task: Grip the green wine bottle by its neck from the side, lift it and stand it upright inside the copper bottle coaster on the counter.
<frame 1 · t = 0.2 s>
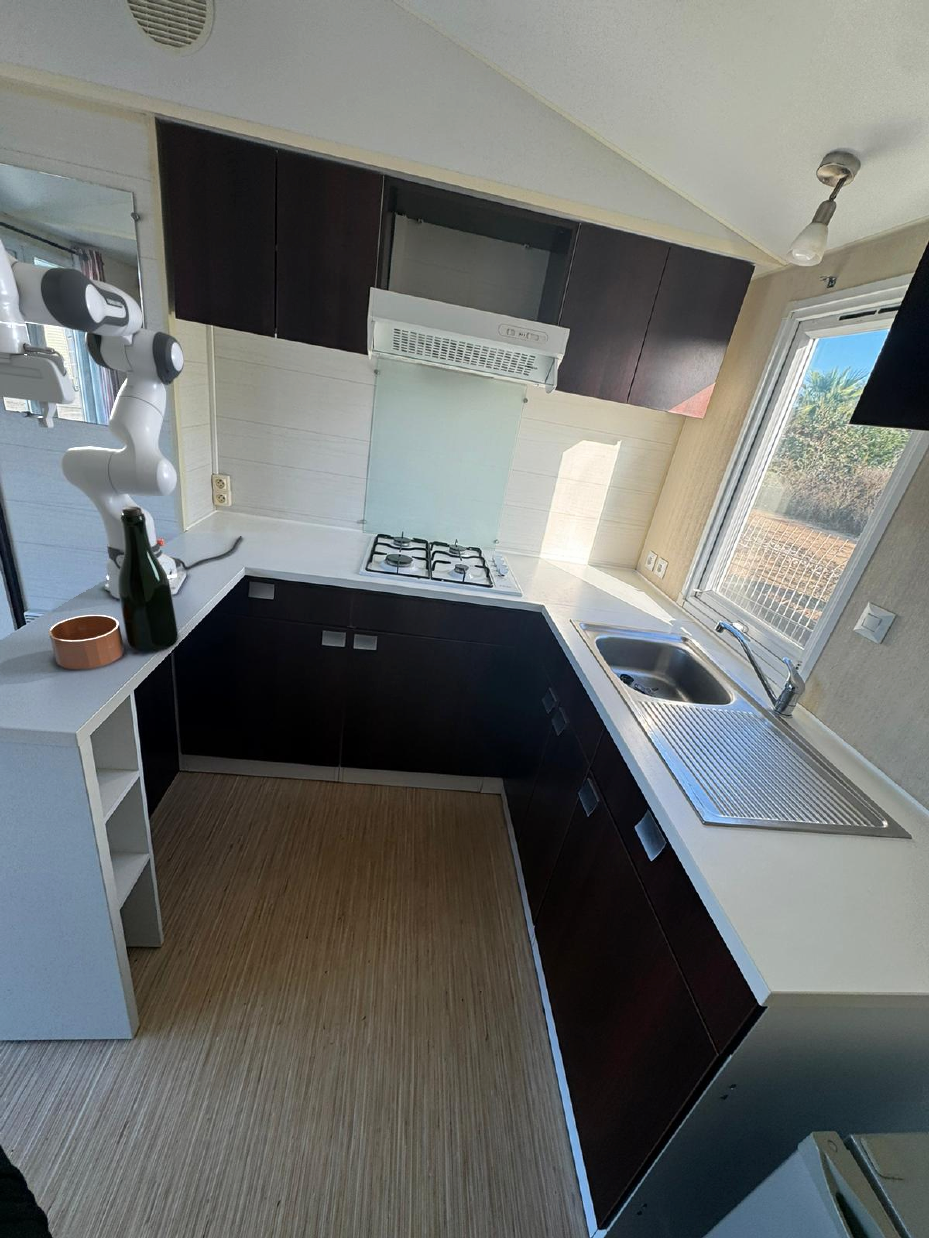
hand: (19, 424, 91), 48 cm above the table, tool pointing down, fingers open, 8 cm apart
copper bottle coaster: (91, 654, 109), on the table
green wine bottle: (154, 643, 117), on the table
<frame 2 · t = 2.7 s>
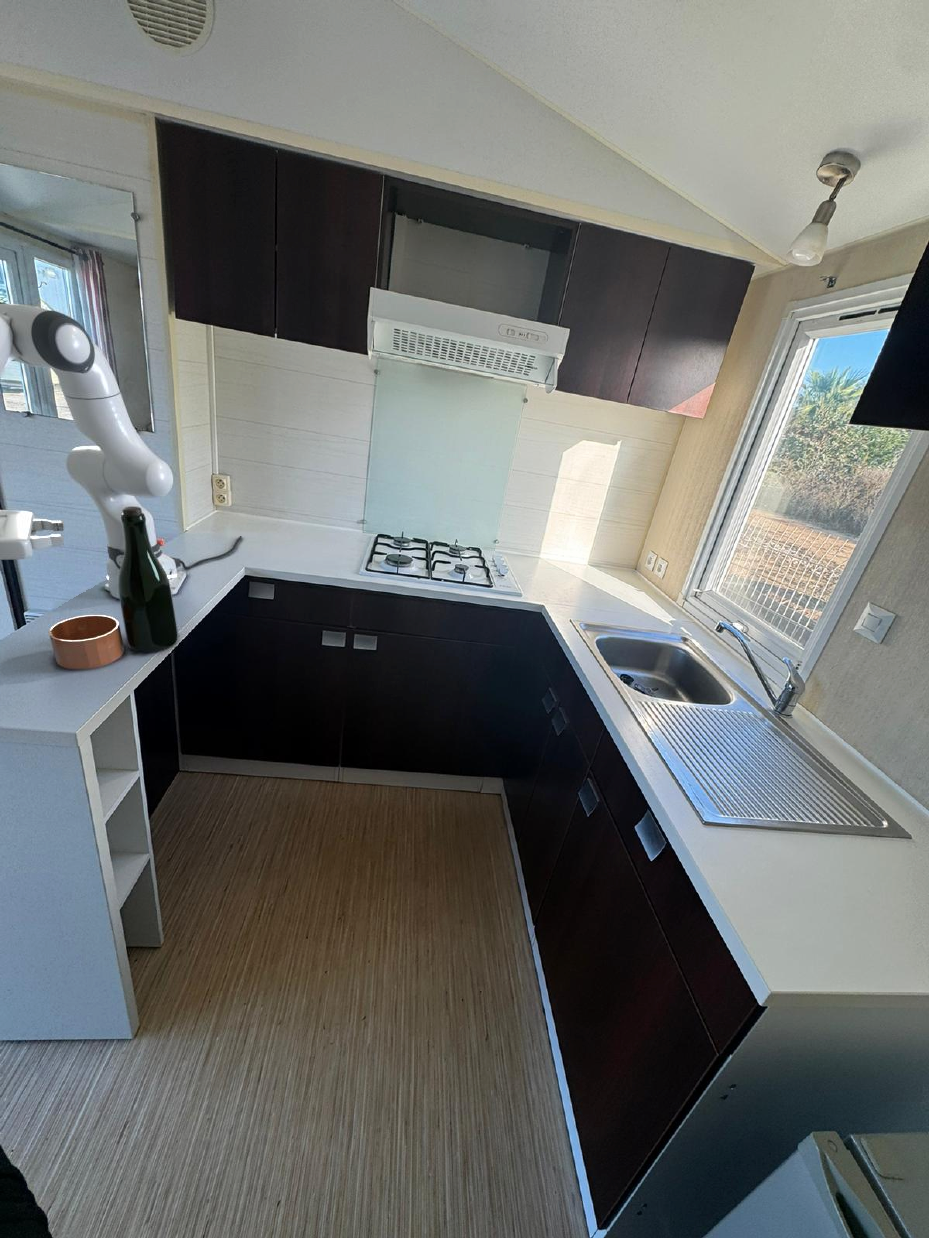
hand: (63, 532, 97), 28 cm above the table, tool horizontal, fingers open, 8 cm apart
nothing on the table moved.
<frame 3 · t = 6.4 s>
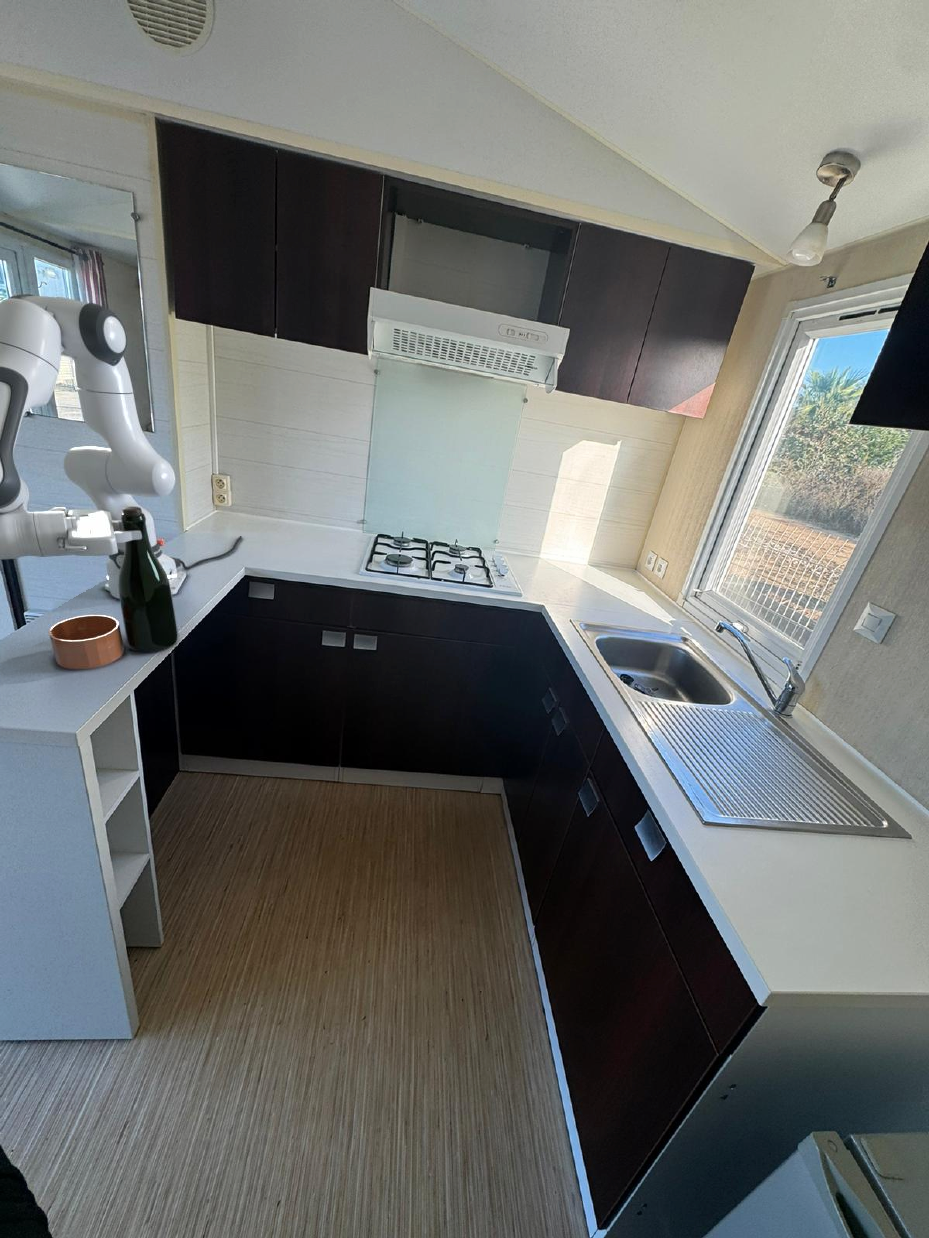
hand: (140, 530, 105), 28 cm above the table, tool horizontal, fingers closed on green wine bottle, 4 cm apart
green wine bottle: (154, 643, 117), on the table, touching gripper
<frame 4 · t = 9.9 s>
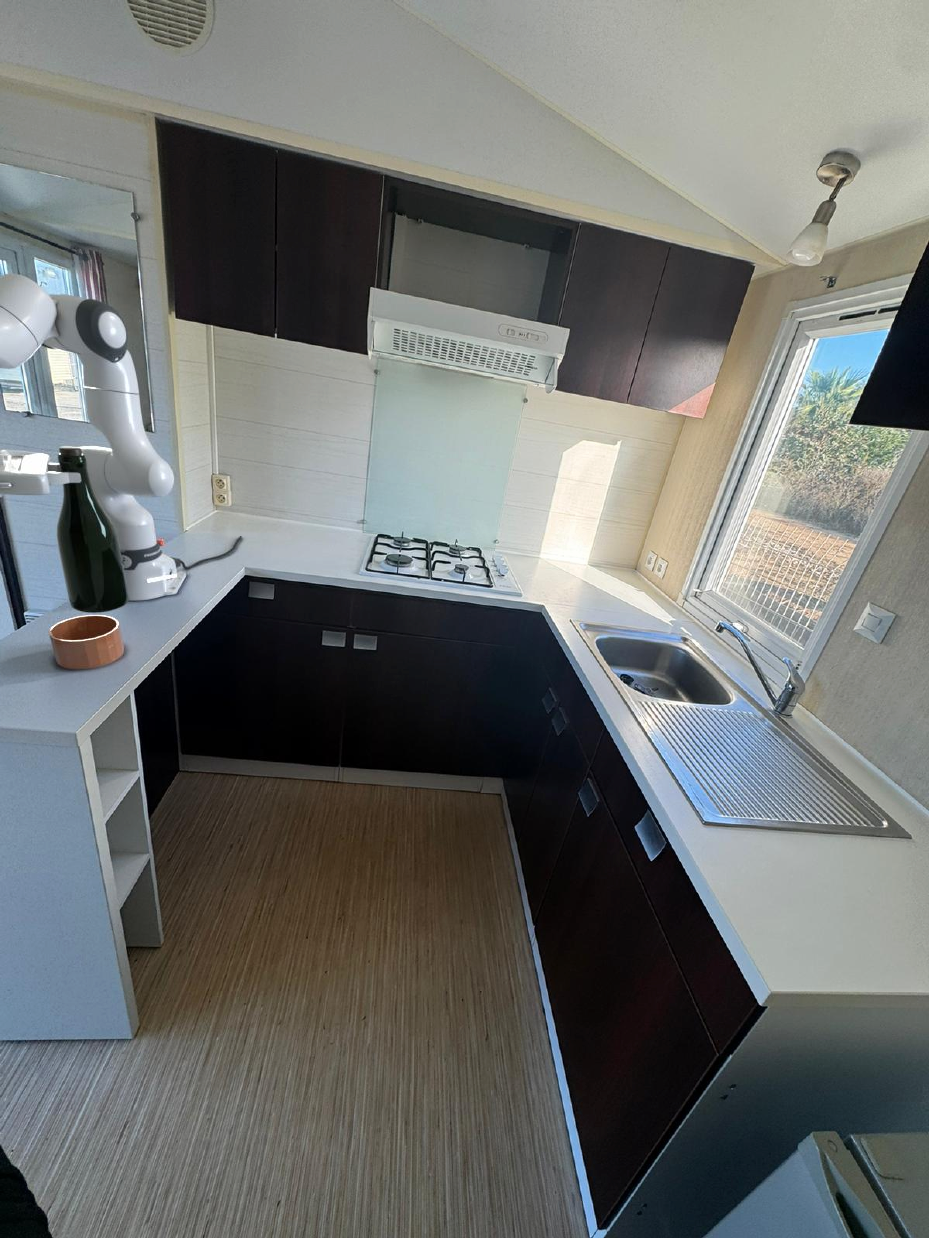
hand: (80, 474, 94), 40 cm above the table, tool horizontal, fingers closed on green wine bottle, 4 cm apart
green wine bottle: (101, 604, 106), point 12 cm above the table, touching gripper
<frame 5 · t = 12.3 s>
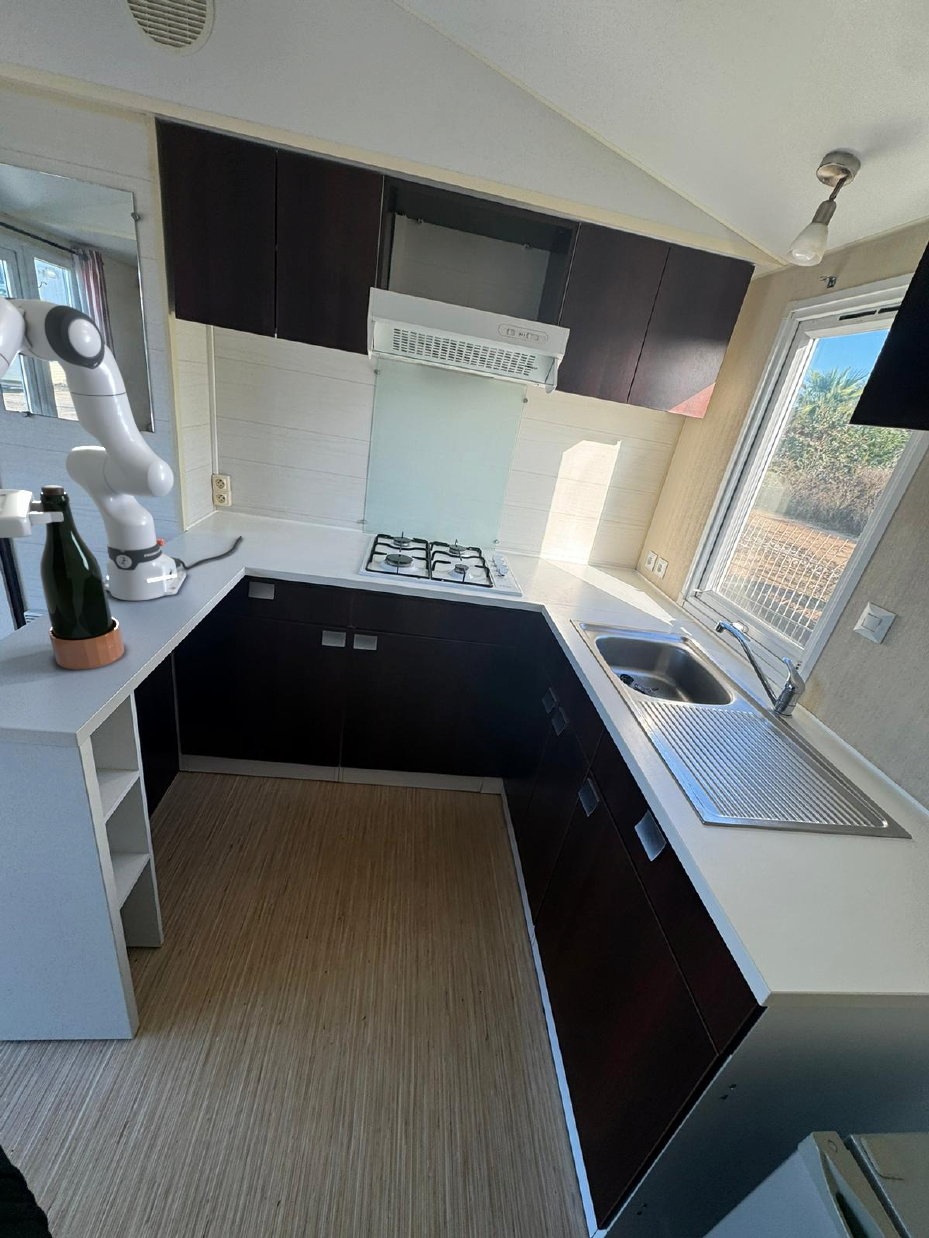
hand: (63, 512, 95), 33 cm above the table, tool horizontal, fingers closed on green wine bottle, 4 cm apart
green wine bottle: (86, 637, 107), point 5 cm above the table, touching gripper
when the fingers open (29 cm above the table, at t = 13.9 s): green wine bottle stays where it is, resting on copper bottle coaster.
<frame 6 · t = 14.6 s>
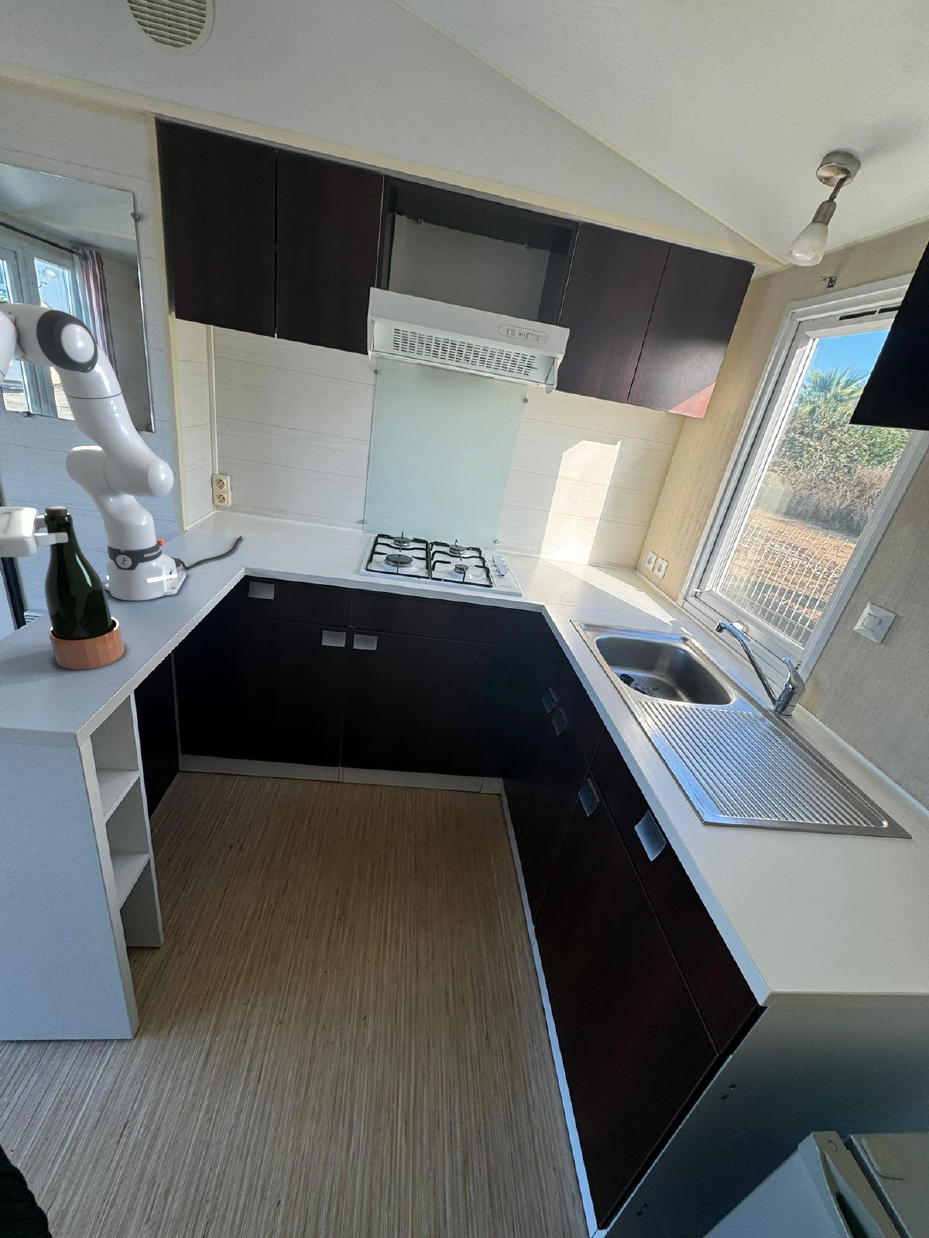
hand: (67, 529, 97), 29 cm above the table, tool horizontal, fingers open, 8 cm apart
green wine bottle: (90, 653, 109), resting on copper bottle coaster
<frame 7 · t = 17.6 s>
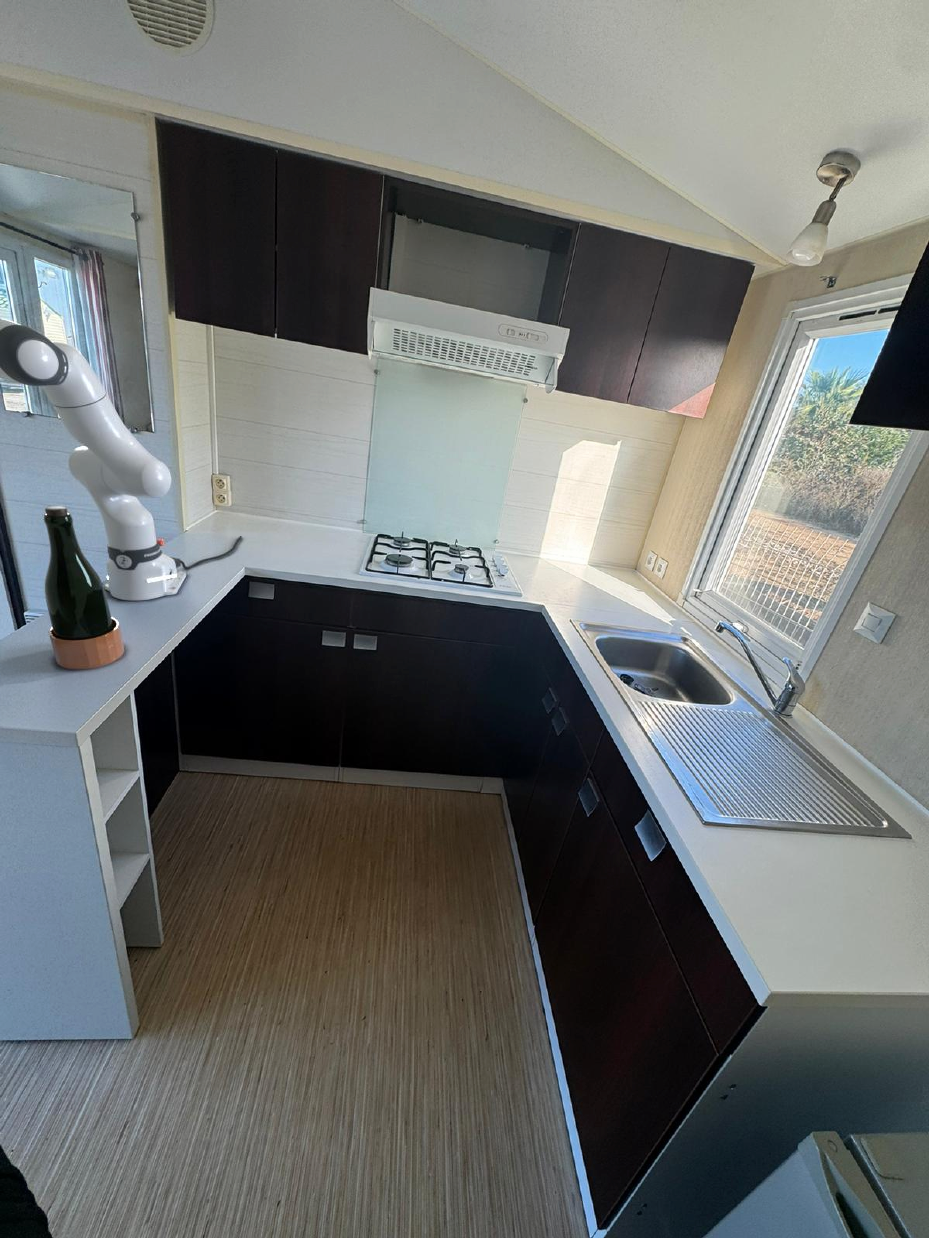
nothing on the table moved.
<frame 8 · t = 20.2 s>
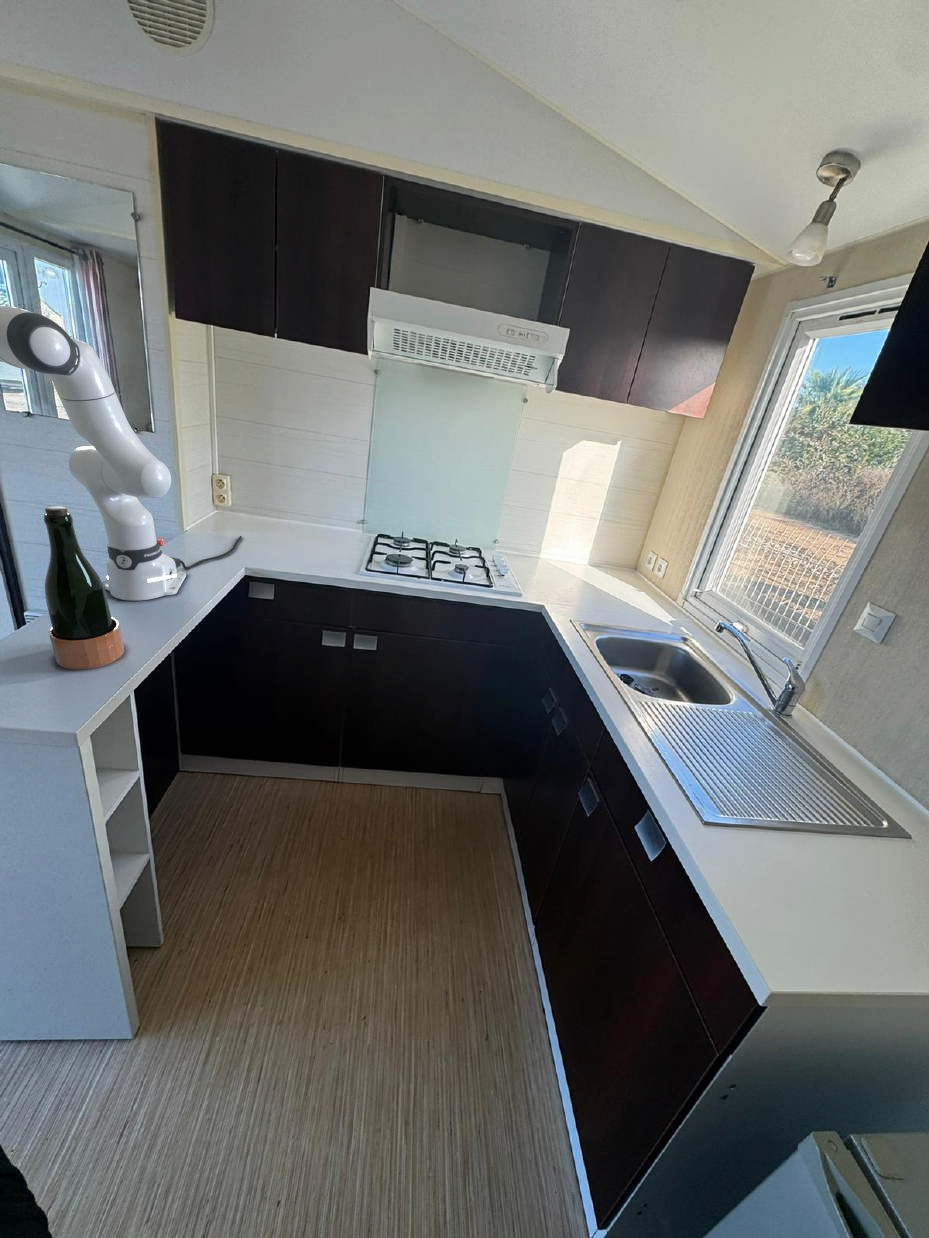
nothing on the table moved.
at the end: green wine bottle 0.1 cm off-centre in the copper bottle coaster, point 0.4 cm above the copper bottle coaster's base; green wine bottle tilted 0°; the gripper is holding nothing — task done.
